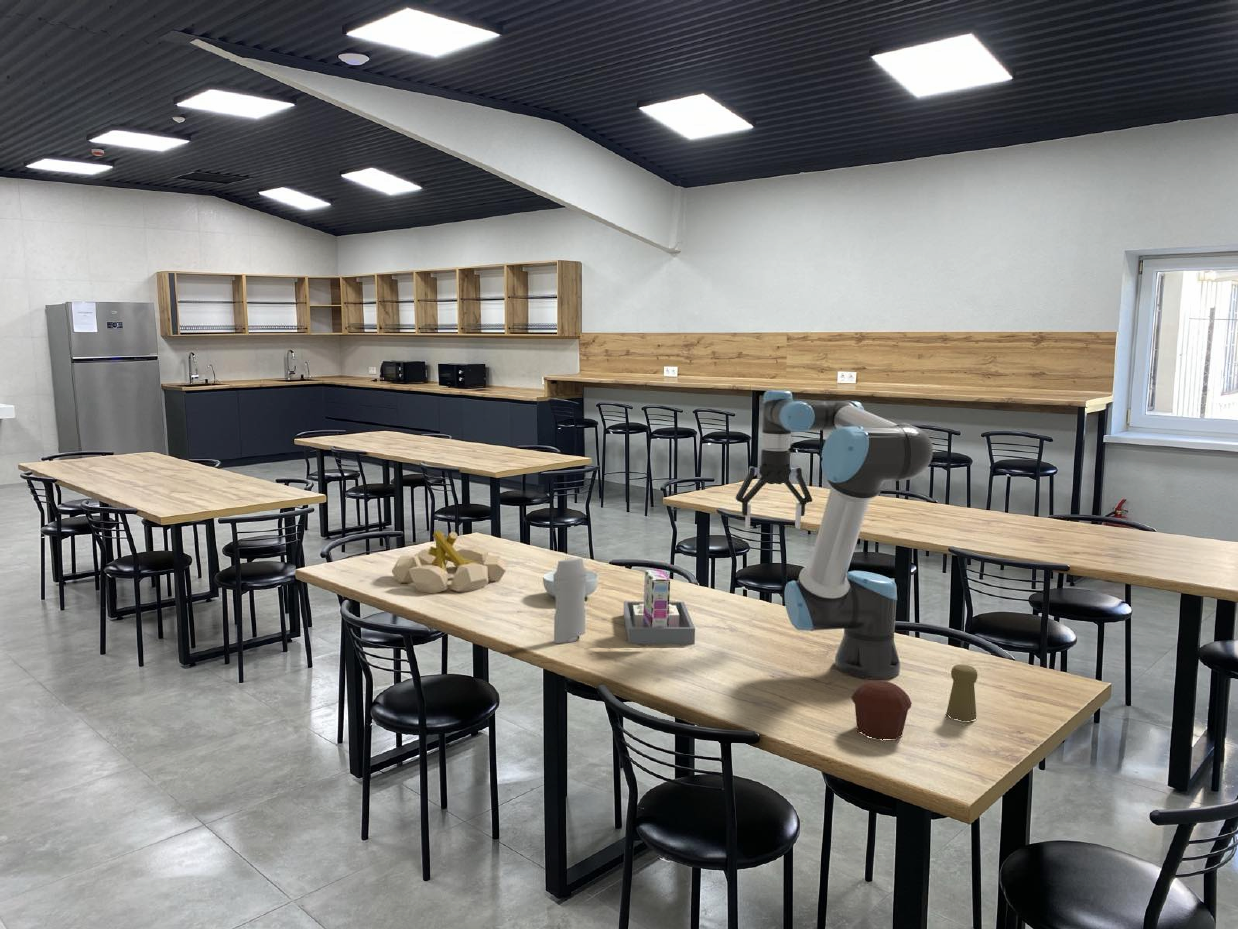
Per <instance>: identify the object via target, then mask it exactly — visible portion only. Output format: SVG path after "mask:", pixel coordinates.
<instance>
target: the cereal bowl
mask: <svg viewBox="0 0 1238 929" xmlns="http://www.w3.org/2000/svg"><path fill="white" fill-rule="evenodd" d="M556 571H557V569H556V570H551V571H549V572H546V573H545V574H543V576H542V583H543V586H544V590H545V591H546V592H547V593H548V594H549V595H551V596H553V597H555V591H556V589H555V588H554V583H553V581H554V573H555V572H556ZM599 580H600V579H599V574H598V573H597V572H595V571H593V570H588V569H587V582H586V583H585V585H584V586H585V592H584V593H585V594H584V595H585V597H587V596H591V595H592V594H593V593H594V592H595V591H596V590H597V589H598V586H599ZM585 597H584V598H585Z"/></svg>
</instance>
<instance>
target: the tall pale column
mask: <svg viewBox="0 0 1238 929" xmlns="http://www.w3.org/2000/svg"><path fill="white" fill-rule="evenodd" d="M556 570H557V571H556ZM556 570H555V571H556V572H555V573H554V581H553V583H554V588H555V589H556V591H555V596H554V597H555V612H554V618H553V623H554V624H553V625H554V626H553V628H554V629H553V630H554V631H553V632H554V633H553V637H554V638H553V643H554V644H556V645H557V644H561V645H562V644H564V643H575V642H577V641H579V640H580V636H583V635H585V634H586V606H585V600H586V599H585V595H584V594H585V593H584V592H585V586H584V585H585V583H586V582H587V570H588V569H587V568H586V566H585V564H584V559H583V557H574V556H573V557H567V558H565V559H563V560H558V562H557V567H556Z"/></svg>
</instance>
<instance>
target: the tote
mask: <svg viewBox="0 0 1238 929" xmlns="http://www.w3.org/2000/svg"><path fill="white" fill-rule="evenodd" d="M639 604H644V600H642V601H636V600H634V601H630V600H629V601H628V600H627V601H626V600H625V601H623V615H622V616H623V620H624V626H625V632H626V638H627V642H628V643H627V644H628V645H641V644H642V645H645V644H646V645H657V644H658V645H661V644H662V645H667V644H668V645H693V644H696V642H695V641H696V640H695V638H696V636H695V635H696V627H695V626H694V623H693V620H692V618H691V616H690V613H689V611H688V608H687V607H686V603H685V602H684V601H669V604H671V605H676V608H677V610H678V613H679V627H635V626H634V621H633V605H639Z"/></svg>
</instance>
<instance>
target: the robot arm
mask: <svg viewBox="0 0 1238 929" xmlns="http://www.w3.org/2000/svg"><path fill="white" fill-rule="evenodd" d="M805 431H831V432H830V433H829V435H828V436H827V438H826V440H825V442H824V444H823V446H822V451H821V458H822V460H821V462H820V463H821V470H822V473H823V476H824V477H825V478H826V482H827V484H828V486H829V487H830V491H829V493H828V497H827V501H826V504H825V506H824V507H825V508H824V512H823V515H822V519H821V522H820V526H819V529H818V533H817V536H816V539H815V543H814V546H813V550H812V554H811V557H810V561H809V564H808V565H807V566H804V567H803V568H802V569H801V570H800V573H799V575H798V579H797V580H791V581H788V582H787V583H786V585H785V587H784V604H785V610H786V614H787V617H788V619H789V622H790V623H791V625H792V626H793V628H794V629H796V630H797V631H802V632H803V631H804V632H805V631H807V632H808V631H809V632H814V631H827V630H828V631H829V630H843V636H842V638H841V641H840V644H839V646H838V648H837V651H836V652H835V653H836V654H835V658H834V659H835V660H834V666H835V668H836V669H837V670H838V671H840V672H842V673H843V674H846V675H848V674H849V676H852V677H856V678H860V679H866V678H868V679H867V680H887V679H892V678H895V677H896V676H898V675H899V674H900V673H901V672H900V671H901V660H900V658H899V654H898V650H897V646H896V644H895V629H896V627H895V626H896V625H895V624H896V612H897V611H896V610H897V601H898V595H897V594H898V593H897V591H898V590H897V584H896V582H895V581H894V580H893V579H892V578H889V577H887V576H884V575H882V574H878V573H874V572H869V571H863V570H851V571H849V568H850V564H851V561H852V558H853V555H854V552H855V549H856V546H857V542H858V539H859V535H860V533H861V529H862V527H863V523H864V520H865V518H866V513H867V510H868V507H869V505H870V500H872V499H874V498H876V497H877V496H879V495H880V493H881V491H882V488H883V484H884V482H899V481H900V482H901V481H908V480H911V479H914V478H916V477H918V476H919V475H921V474H922V473H924V472H925V470H926V469H927V468H928V467H929V466H930V463H931V462H932V459H933V454H934V447H933V443H932V441H931V438H930V437H929V435H928V434H927V433H926V432H925V431H923V430H922V429H921V428H919V427H916V426H914V425H911V424H910V423H895V422H893V421H890V420H889V419H888V420H887V419H885V418H883V417H880V416H878V415H876V414H873V413H871V412H869V411H867V410H865V408H864V407H863V405H862V403H861V402H859V401H855V400H854V401H853V400H847V399H846V400H794V399H793V393H792V392H791V390H789V391H788V390H767V391H765V392H764V393H763V401H762V432H761V433H762V434H761V448H763V449H761V452H760V453H761V455H760V456H761V458H760V467H754V466H753V465H752V466H749V467H748V470H747V475H746V477H745V479H744V481H743V482H742V484H741V485H740V486H741V487H740V488H739V490H738V491H737V493H736V495H735V498H734V499H735V500H736V501H737V502H739V503H741V514H742V515H743V516H745V520H744V521H745V522H744V525H745V528H746V529H747V530H749V529H751V509H752V508H751V506H752V505H751V503H750V501H751V500H752V499H753V498H754V497H755V496H756V495H757V494H758V492H759V491H760V490H761V489H762V488H763V487H764V486H765V485H766V484H768V485H774V484H776V485H782V484H784V485H785V486H786V487H787V489H788V490H789V491H790V492H791V494H792V495H793V497H795V499H797V501H798V502H796V503H795V519H794V520H795V522H794V525H795V526H794V527H795V529H797V530H801V526H802V525H801V522H802V521H801V520H802V517H804V516H805V514H806V505H807V503H812V502H813V497H812V496H811V493H810V491H809V488H808V486H807V484H806V482H805V479H804V477H803V472H802V468H800V467H799V466H795V467H791V462H790V461H791V451H790V449H791V442H792V440H791V439H792V437H791V436H792V435H791V434H792V432H793V433H796V432H799V433H802V432H805ZM758 473H759V474H760V475H761V476H760V478H759V479H758V480H757V482H756V483H755V485H754V486H752V488H751V489H750V490H749V487H750V485H751V484H752V481H753V480H754V477H755V476H757V475H758ZM791 473H792V475H793V476H795V479H796V481H797V483H798V485H799V487H800V490H801V491H802V494H803V496H804V497H803V496H802V495H801V494H800V493H799V491H798V489H796V488H795V486H794V485H793V483H792V482H791V481H790V480H789V479H788V477H789V476H790V475H791ZM748 490H749V491H748ZM747 491H748V492H747Z"/></svg>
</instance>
